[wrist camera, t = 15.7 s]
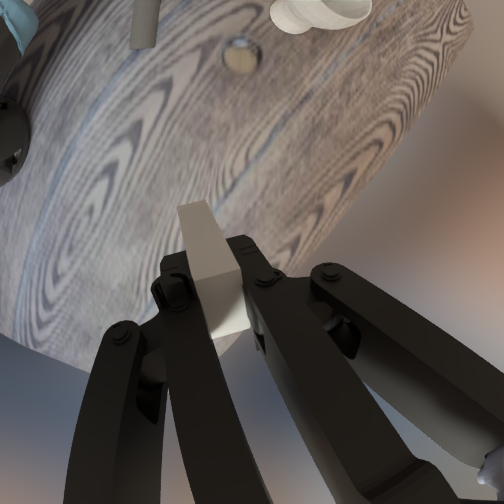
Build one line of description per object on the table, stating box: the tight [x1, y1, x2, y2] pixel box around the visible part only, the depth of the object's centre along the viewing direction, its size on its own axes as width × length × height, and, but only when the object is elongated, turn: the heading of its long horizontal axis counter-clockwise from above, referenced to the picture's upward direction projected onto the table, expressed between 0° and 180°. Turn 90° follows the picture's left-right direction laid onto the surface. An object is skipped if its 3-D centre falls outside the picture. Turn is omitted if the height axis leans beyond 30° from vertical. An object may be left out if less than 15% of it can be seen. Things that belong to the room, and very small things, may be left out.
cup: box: [270, 0, 372, 34], centre depth 25 cm, size 11×11×15 cm
